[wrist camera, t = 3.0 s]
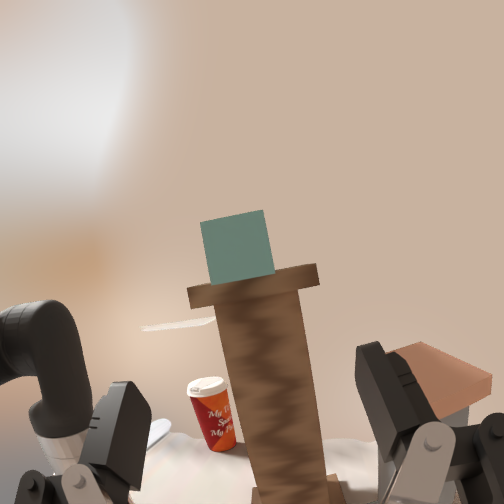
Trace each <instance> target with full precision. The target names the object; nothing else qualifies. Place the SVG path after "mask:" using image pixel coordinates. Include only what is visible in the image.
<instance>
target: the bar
mask: <svg viewBox="0 0 504 504" xmlns="http://www.w3.org/2000/svg"><path fill="white" fill-rule="evenodd" d="M200 225H201V231H202V236H203V243H204V248H205V254H206V259H207V265H208V270H209V275H210V281H211V286H212V285H217V284H223V283H228V282H233V281H239V280H244V279H249V278H255V277H260V276H265V275H270V274H275V269H274V264H273V259H272V253H271V248H270V243H269V238H268V233H267V228H266V223H265V218H264V213H263V210H258V211H253V212H248V213H243V214H239V215H233V216H229V217H224V218H219V219H214V220H209V221H204V222H200Z"/></svg>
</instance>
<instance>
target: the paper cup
mask: <svg viewBox="0 0 504 504" xmlns="http://www.w3.org/2000/svg"><path fill="white" fill-rule="evenodd" d="M227 387H228V384H227V383H226V382H225V381H224V379H223V378H221V377H205V378H201V379H197V380H195V381H193V382H191V383H190V384H189V385H188V390H187V394H188V395H189V396H190V398H191V402H192V404H193V407H194V410H195V413H196V416H197V418H198V421H199V424H200V427H201V429H202V432H203V435H204V437H205V440H206V442H207V445H208V447H209V449H210V450H212V451H216V452H221V451H226V450H229V449H231V448H233V447H234V446H235V445H236V437H235V431H234V426H233V421H232V415H231V410H230V404H229V399H228V393H227Z"/></svg>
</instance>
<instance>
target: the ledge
mask: <svg viewBox="0 0 504 504" xmlns="http://www.w3.org/2000/svg"><path fill="white" fill-rule="evenodd" d="M394 351H395V352H396V353H397V354H399V355H400V356H401V357H403V358H404V359H405V360H406V361H407V363H408V365H409V367H410V368H411V370H412V374H414V376H415V378H416V379H417V383H419V385H420V387H421V389H422V390H423V392H424V394H425V396H426V398H427V400H428V402H429V404H430V406H431V407H432V409H433V411H434V413H435V415H436V417H437V418H438V419H439V420H440V421H441V422H442V423H444V424H447V425H448V426H451V427H464V426H467V424H468V415H469V405H471V404H473V403H475V402H477V401H479V400H481V399H483V398H484V397H486V396H488V395H490V394H491V386H492V385H491V384H492V374H490V373H488V372H486V371H483V370H481V369H479V368H477V367H475V366H472V365H470V364H468V363H466V362H464V361H461V360H460V359H457V358H455V357H453V356H451V355H449V354H446V353H444V352H442V351H440V350H438V349H436V348H433V347H431V346H429V345H427V344H425V343H423V342H418V343H415V344H412V345H409V346H406V347H403V348H400V349H396V350H393V351H390V352H386V353H385V354H387V353H391V352H394ZM395 470H396V467H395V465H394V462H393V461H390V462H387V463H384V461H383V459H382V456H381V453H380V450H379V447H378V500H377V501H374V502H371V503H368V504H380V503H381V501H382V499H383V497H384V495H385V493H386V491H387V488H388V486H389V484H390V482H391V479H392V477H393V475H394V472H395ZM456 489H457V488H456V485H455V482H454V481H448V482H444V485H443V488H442V491H441V494H440V497H439V500H438V504H453V501H454V497H455V493H456Z"/></svg>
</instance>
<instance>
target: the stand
mask: <svg viewBox="0 0 504 504" xmlns="http://www.w3.org/2000/svg"><path fill="white" fill-rule="evenodd" d="M317 285H320V283H319V278H318V273H317V267H316V263H315V264H305V265H300V266H295V267H290V268H285V269H279V270H275V274H270V275H265V276H260V277H255V278H249V279H244V280H239V281H233V282H228V283H223V284H217V285H212V286H211V283H206V284H201V285H197V286H193V287H189V288H187V292H188V297H189V302H190V307H191V309H194V308H201V307H206V306H212V305H214V309H215V314H216V319H217V324H218V328H219V333H220V338H221V343H222V347H223V352H224V356H225V361H226V366H227V370H228V374H229V378H230V383H231V387H232V391H233V396H234V400H235V404H236V408H237V412H238V417H239V421H240V425H241V429H242V432H243V436H244V440H245V444H246V448H247V452H248V456H249V459H250V463H251V467H252V470H253V474H254V478H255V481H256V485H257V487H254V488H253V489H252V501H251V504H346V502H345V499H344V496H343V493H342V490H341V487H340V484H339V481H338V478H337V475H336V474H332V475H327V476H326V468H325V460H324V452H323V445H322V438H321V430H320V423H319V416H318V409H317V403H316V396H315V390H314V383H313V377H312V370H311V364H310V358H309V352H308V346H307V340H306V335H305V329H304V323H303V317H302V312H301V306H300V301H299V295H298V289H302V288H307V287H312V286H317Z"/></svg>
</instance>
